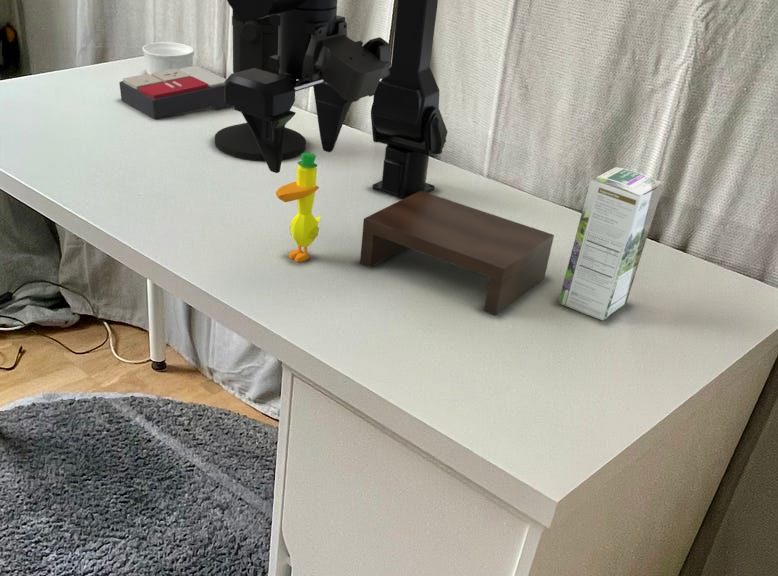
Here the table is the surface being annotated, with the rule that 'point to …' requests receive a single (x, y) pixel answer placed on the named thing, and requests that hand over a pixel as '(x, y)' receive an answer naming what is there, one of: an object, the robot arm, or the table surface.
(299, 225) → the toy figure
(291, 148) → the microphone
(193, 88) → the grey and red case
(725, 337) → the table surface
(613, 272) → the syrup box
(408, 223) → the shelf
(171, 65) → the ramekin
